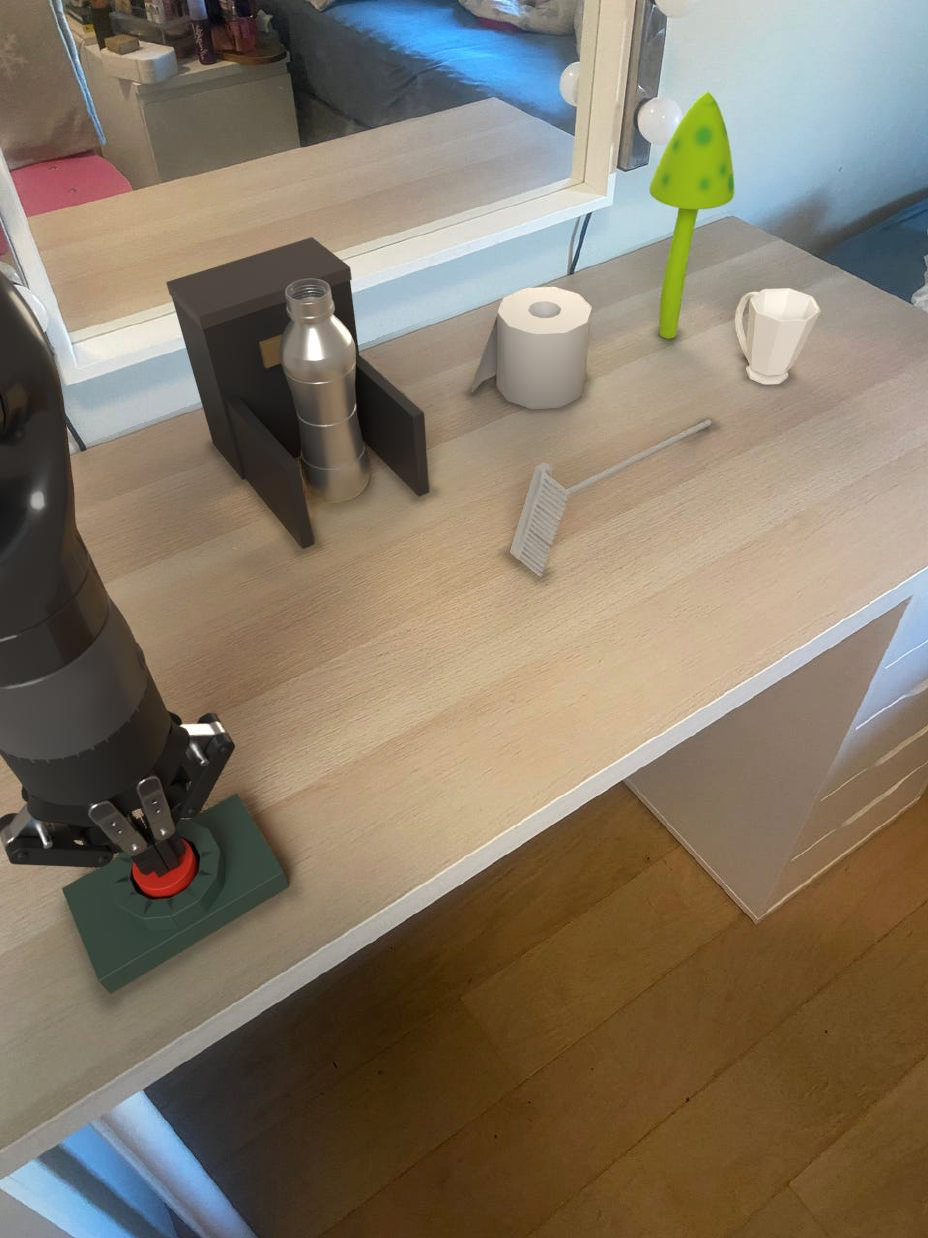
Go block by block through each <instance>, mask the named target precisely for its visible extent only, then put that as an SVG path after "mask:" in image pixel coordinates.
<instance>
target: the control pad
mask: <svg viewBox="0 0 928 1238" xmlns="http://www.w3.org/2000/svg"><path fill="white" fill-rule="evenodd" d="M176 829H177V831H178V833H179V835H180V837H181V838H182V839H183V840H185V841H186V842H187V843H188V844H189V846H190V847H191V849H192V851H193V853H194V855H195V857H196V859H197V861H198V864H199V870H198V874H197V875H196V876H195V878H194V879H193V881H192V882H191V883H190V885H189V886H188V887H187V889H185V890H183V891H182V892H180V893H178V894H176V895H175V896H173V897H171V898H165V899H150V898H148V897H147V896H146V895H145V894H144V893H143V891H142V890H141V888H140V887H139V885H138V883H137V882H136V880H135V879H134V876H133V863H134V861H133V860H132V858H131V857H130V856H128V855H127V854H126V853H117V854H116V856H115V857H114V858H113V859H112V861H111V862H110V863H108V864H107V865H105V866H103V867H99V868H97V869H96V868H95V869H94V870H93V871H91V872H89V873H87V874H86V875H83V876H82V877H80V878H78V879H76V880H74V881H72V882H71V883H69V884H67V885H65V886H63V887H62V888H61V891H62V893H63V896H64V899H65V900H66V903H67V906H68V908H69V911H70V914H71V916H72V919H73V921H74V924H75V926H76V929H77V931H78V933H79V936H80V938H81V941H82V943H83V946H84V948H85V951H86V953H87V956H88V959H89V961H90V963H91V967H92V968H93V971H94V974H95V976H96V978H97V979H96V980H97V981H98V982H99V984H100V985H101V986H102V987H103V988H104V989H105V990H106V991H107V992H108V994H110V995H111V994H113V993H115V992H116V991H118V990H120V989H122V988H123V987H125V986H126V985H128V984H130V983H132V982H133V981H135V980H137V979H138V978H140V977H141V976H143V975H145V974H147V973H149V972H150V971H152V970H153V969H156V967H158V966H160V965H162V964H163V963H165V962H167V961H168V960H170V959H172V958H173V957H174V956H177V955H178V954H180V953H181V952H183V951H185V950H187V949H188V948H190V947H191V946H193V945H195V944H197V943H198V942H200V941H201V940H203V939H205V938H207V937H208V936H210V935H212V934H213V933H215V932H216V931H218V930H220V929H222V928H223V927H225V926H227V925H228V924H230V923H231V922H233V921H235V920H237V919H238V918H240V917H241V916H244V915H245V914H247V913H248V912H250V911H252V910H253V909H256V908H257V907H259V906H260V905H262V904H263V903H265V902H267V901H269V900H270V899H271V898H274V897H275V896H276V895H278V894H280V893H281V892H283V891H285V890H286V889H289V887H290V885H289V882H288V880H287V877H286V874H285V872H284V870H283V868H282V866H281V865H280V863H279V861H278V859H277V858H276V856H275V854H274V853H273V851H272V850H271V848H270V846H269V844H268V843H267V841H266V839H265V838H264V836H263V833H262V832H261V830H260V828H259V827H258V825H257V824H256V821H254V818H253V816H252V815H251V813H250V812H249V810H248V808H247V806H246V805H245V803H244V801H243V800H242V798H241V797H240V795H239V793H238V792H236V793H233V794H232V795H230V796H228V797H227V798H225V799H223V800H221V801H219V802H218V803H216V804H214V805H212V806H210V807H208V808H206V809H204V810H203V811H200V813H199V814H197V815H196V816H194V817H192V818H189V819H185V818H181V819H180V820H179V821H178V823H177V824H176Z"/></svg>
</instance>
